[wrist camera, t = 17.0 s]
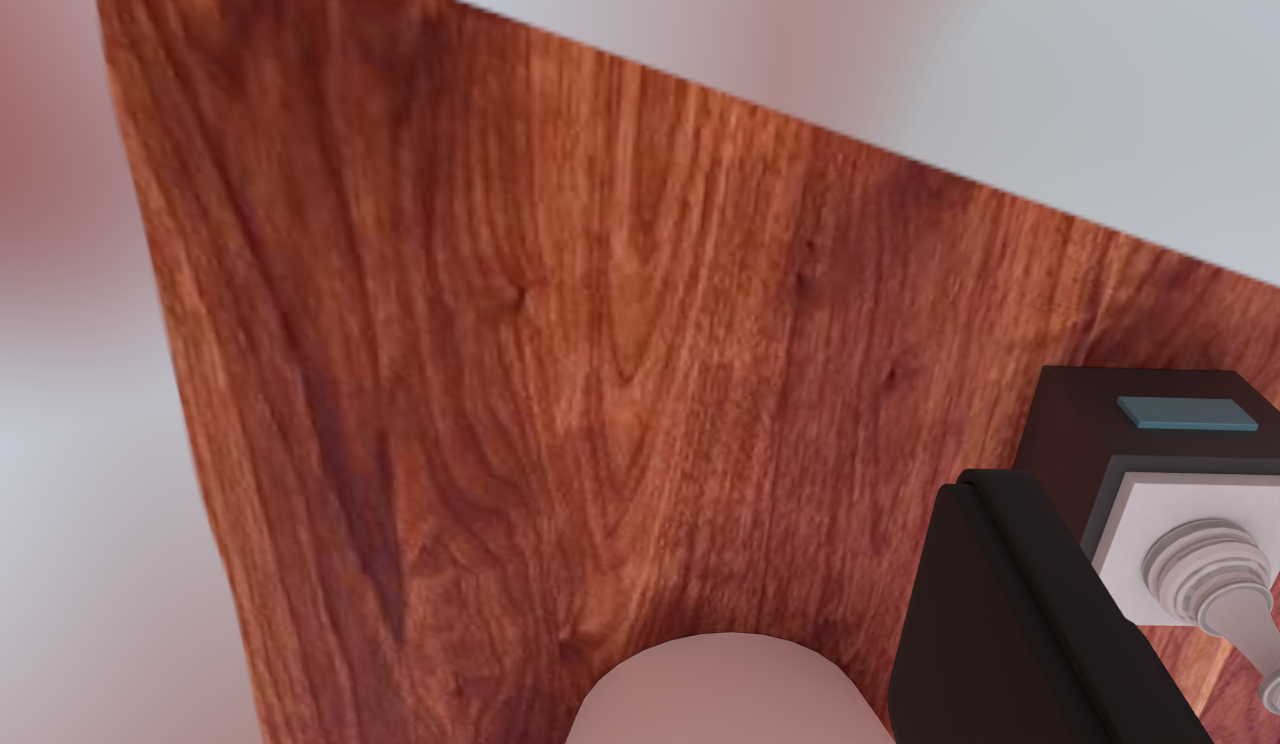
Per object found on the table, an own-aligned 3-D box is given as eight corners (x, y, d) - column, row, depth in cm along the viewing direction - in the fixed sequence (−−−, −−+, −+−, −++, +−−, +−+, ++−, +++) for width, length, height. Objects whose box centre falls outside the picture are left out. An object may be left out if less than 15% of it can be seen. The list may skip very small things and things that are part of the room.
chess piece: (1202, 499, 38) (1379, 706, 29) (1273, 546, 39) (1462, 756, 30) (1117, 571, 39) (1259, 785, 31) (1188, 613, 41) (1343, 830, 32)
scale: (1044, 359, 43) (1123, 460, 36) (1238, 365, 44) (1352, 466, 37) (996, 521, 48) (1059, 637, 41) (1171, 524, 48) (1262, 640, 42)
